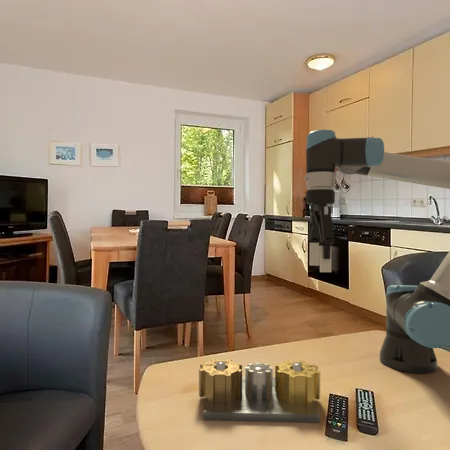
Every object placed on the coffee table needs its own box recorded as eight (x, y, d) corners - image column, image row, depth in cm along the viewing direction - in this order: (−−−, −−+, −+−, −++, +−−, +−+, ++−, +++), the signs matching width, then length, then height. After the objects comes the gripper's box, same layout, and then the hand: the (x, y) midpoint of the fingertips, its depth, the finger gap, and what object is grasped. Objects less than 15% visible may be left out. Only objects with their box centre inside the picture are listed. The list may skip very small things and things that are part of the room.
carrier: (304, 384, 95) (304, 350, 95) (319, 422, 77) (319, 381, 77) (209, 382, 96) (209, 349, 96) (203, 419, 78) (203, 378, 78)
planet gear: (314, 385, 91) (314, 360, 91) (323, 405, 81) (324, 377, 81) (273, 384, 91) (273, 359, 91) (277, 404, 81) (278, 376, 81)
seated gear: (241, 383, 91) (241, 359, 91) (242, 403, 82) (242, 376, 81) (201, 382, 92) (201, 358, 92) (197, 402, 82) (197, 375, 82)
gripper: (298, 192, 113) (298, 263, 113) (315, 185, 88) (315, 275, 88) (323, 192, 112) (323, 263, 113) (348, 185, 88) (347, 275, 88)
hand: (319, 268), depth 100 cm, fingers open, 13 cm apart
